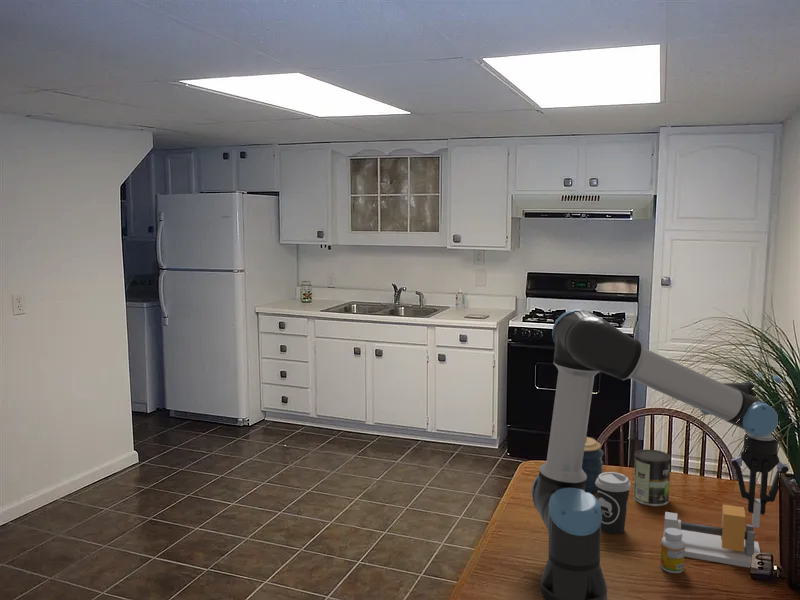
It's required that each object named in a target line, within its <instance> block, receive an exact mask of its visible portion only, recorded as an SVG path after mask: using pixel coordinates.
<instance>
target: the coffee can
mask: <svg viewBox="0 0 800 600" xmlns="http://www.w3.org/2000/svg"><path fill="white" fill-rule="evenodd" d="M671 459H672V457H671V455H670V454H669V453H667V452H665V451H661V450H657V449H656V450H655V449H639V450H637V451H635V452H634V473H633V475H634V480H633V483H634V484H633V499H634V501H635V502H637V503H639V504H641V505H645V506H649V507H663V506H666V505H668V504H669V500H670V499H669V497H670V474H671V473H670V471H671Z"/></svg>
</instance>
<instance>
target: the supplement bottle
mask: <svg viewBox="0 0 800 600" xmlns="http://www.w3.org/2000/svg"><path fill="white" fill-rule="evenodd" d="M684 550H685V543H684V541H683V540H682V531H680V530H679V529H676V528H667V529H665V537H662V538H661V544H660V567H661V569H663V571H665V572H667V573H671V574H679V573H683V571H684V569H685V557H684Z"/></svg>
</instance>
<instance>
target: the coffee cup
mask: <svg viewBox="0 0 800 600" xmlns="http://www.w3.org/2000/svg"><path fill="white" fill-rule="evenodd" d="M595 484H596V486H597V500H598V501H599V503H600V506H601V513H602V522H601V532H603V533H606V534H610V535H620V534H622V533H624V531H625V527H626V518H627V512H628V511H627V510H628V503H629V495H630V490H631V489H632V483H631V481H630V480H629V477H628V476H627V475H625V474H623V473H620V472H615V471H605V472H603V473H601V474H600V475H599V476H598V478H597V479H596V482H595Z"/></svg>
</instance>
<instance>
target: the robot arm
mask: <svg viewBox="0 0 800 600" xmlns="http://www.w3.org/2000/svg"><path fill="white" fill-rule="evenodd" d="M551 336H552V340H553V343H554V354H553V365H554V366H555V367H556V369H557V371H558V373H557V380H556V387H555V395H554V403H553V410H552V418H551V425H550V435H549V441H548V449H547V456H546V462H545V463H543V464H541V465H540V466H539V468H538V469H539V471H538V475H537V476H536V477H535V478H534V481H533V484H532V487H531V497H532V502H533V506H534V507H535V509H536V511H537V513H538V514H539V515H540V518H541V519H542V521H543V523H544V525H545V527H546V529H547V531H548V533H547V534H548V558H547V561H546V563H545V566H544V570H543V573H542V574H541V577H540V587H539V588H540V589H539V590H540V593H541V596H542V595H543V596H542V597H543V598H544V599H545V600H607V599H608V587H607V582H606V579H605V577H604V573H603V571H602V568H601V542H602V540H601V537H602V530H601V522H602V513H601V506H600V503H599V501H598V497H596V496H595V495H594V494H591V493H589V492H585V487H586V480H587V475H586V474H585V472H584V471H583V470H582V462H583V455H584V448H585V441H586V436H587V434H588V433H587V432H588V426H589V425H588V424H589V417H590V409H591V403H592V397H593V391H594V389H593V388H594V382H595V376H596V375H597V374H599V373H603V374H606V375H608V376H612V377H614V378H617V379H618V380H621V381H626V380H628V379H630V380H632V381H634V382H637V383H639V384H642V386H643V385H644V386H646V387H648V388H650V389H653V390H655V391H657V392H660V393H661V394H664V395H666V396H668V397H671V398H672V399H673V398H674V399H675V400H678V401H679V402H683V403H685V404H687V405H688V406H691V407H694V408H696V409H698V410H700V412H701V413H702V414H704V415H711V416H714V417H716V418H718V419H720V420H723V421H725V422H727V423H730V424H731V425H734V426H735V427H737V428H740V429H742V430H744V433H745V434H744V435H743V436H744V437H743V449H742V452H741V453H740V456H737V457H732V458H730V459H731V460H730V461H731V464H732V466H733V468H734V470H735V471H736V472H735V473H736V478H737V482H738V487H739V491H740V495H741V498H743V499H746V500H747V501H748V502H747V504H748V505H747V510H748V513H750V514H752V515H751V525H752V526H753V527H754V528H758V529H760V524H761V520H760V519H761V515H763V516H764V515H765V514H766V506H767V503H768V502H770V503H773V502H774V501H776V498H777V494H778V492H779V489H780V487H779V486H778V479H779V473H784V474H785V475H786V474H787V473H788V472H789V466H788V464H786V463H783V462H782V461H780V458H779V455H778V452H779V451H778V450H779V447H778V446H779V441H778V442H777V441H776V440H775V439H774V438H773V437H772V435H770V434H771V433H772V432H773V431H774V430H775V429H776V427H777V425H778V414H777V412H776V411H775V409H774V408H772V407H771V406H769V405H768V404H767V403H765V402H762V401H760V400H758V399H756V398H754V397H752V396H756V394H755V393H754V392H753V391H752V390H751V389H752V388H753V387H754V385H753V384H751V383H750V382H749V381H747V380H746V382H741V383H740V382H739V383H738V382H736V383H735V382H734V383H733V382H732V383H731V382H729V383H725V382H724V383H723V382H721V381H717V380H715V379H714V378H712V377H709V376H706V375H704V374H702V373H700V372H698V371H696V370H693V369H691V368H689V367H687V366H685V365H683V364H680V363H678V362H675V361H673V360H672V359H669V358H666V357H665V356H664V355H663V356H662V355H661V354H658V353H656V352H655V351H652V350H650V349H647V348H645V347H643V342H641V341H640V340H638V339H636V338H634V337H631V336H630V335H628V334H626V333H625V332H623V331H622V330H620V329H618V328H617V327H615V326H614V325H613V324H611V323H610V322H608V321H607V320H606V319H603V318H601V317H600V316H597V315H596V314H595V313H594V312H591V311H589V310H584V309H577V308H576V309H571V310H567V311H565V312H563V313H562V314H561V315H559V317H557V319H556V320H555V322H554V324H553V326H552V332H551ZM755 373H756V374H758V376H759V377H762V376H761V374H760V373H761V372H755ZM772 375H773V379H774V380H775V381H776V382H777V383H779V384H781V385H782V378H780V377H779V376H777V375H775V374H772ZM749 394H750V395H752V396H750V395H749ZM739 418H740V420H739V421H738V422H737V420H738V419H739ZM736 422H737V423H736ZM747 437H748V439H746V438H747ZM747 446H748V447H747ZM746 448H747V449H746ZM745 450H746V452H745ZM743 463H744V465H745V466H746V467H747V469H748V470H749V479H748V481H749V483H748V484H749V485H748V491H747V490H746V485H745V481H744V477H743V472H742V466H743ZM775 467H776V473H775V475H774V478H773V481H772V484H771V485H770V486H771V487H770V489H769V492H768V478H769V473H770V472H771V471H773V469H775ZM758 473H760V475H761V476H760V490H759V491H760V493H759V498H755V497H756V485H757V484H756V483H757V481H756V480H757V474H758ZM780 475H781V474H780Z"/></svg>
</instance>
